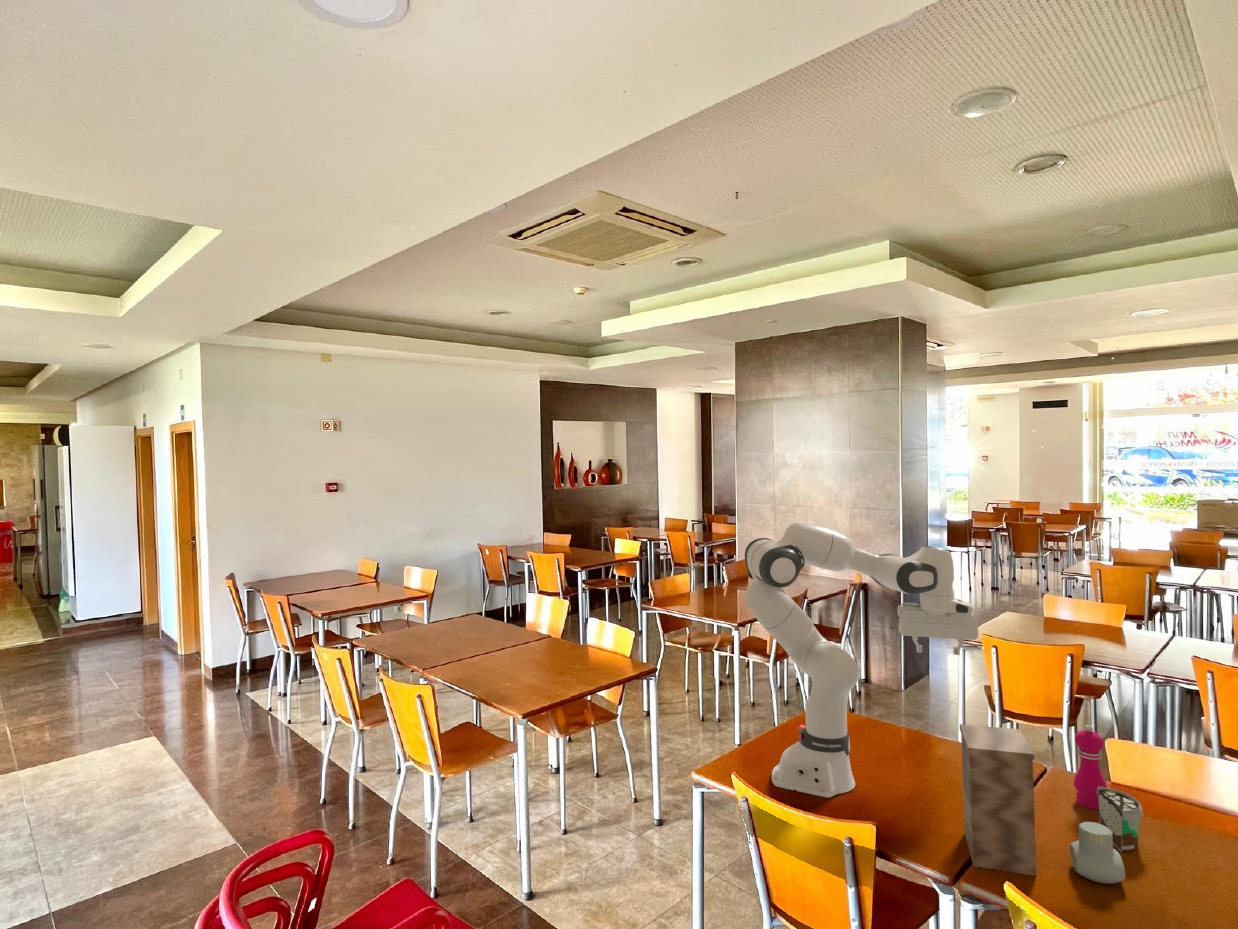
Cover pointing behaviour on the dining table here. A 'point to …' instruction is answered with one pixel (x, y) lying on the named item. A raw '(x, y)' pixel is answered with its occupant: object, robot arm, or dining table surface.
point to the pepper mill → (1089, 768)
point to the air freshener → (1096, 854)
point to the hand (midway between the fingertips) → (937, 653)
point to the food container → (1120, 817)
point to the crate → (998, 798)
